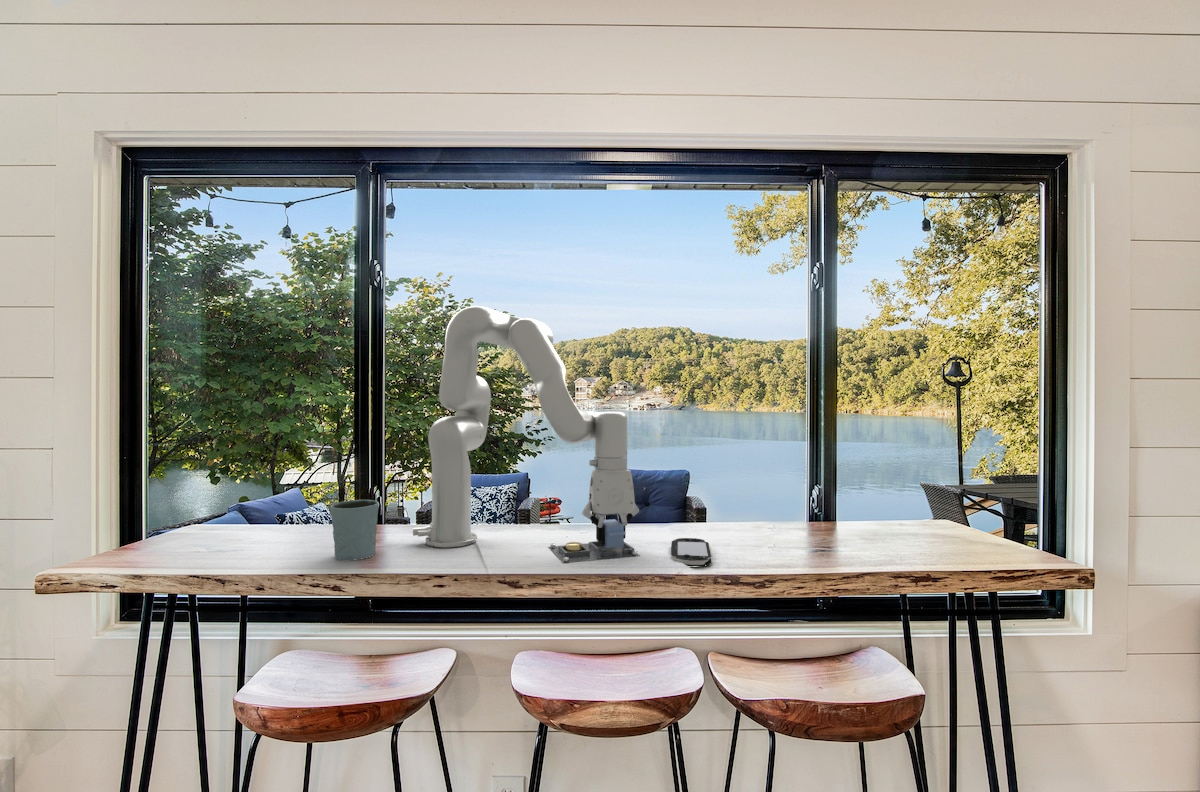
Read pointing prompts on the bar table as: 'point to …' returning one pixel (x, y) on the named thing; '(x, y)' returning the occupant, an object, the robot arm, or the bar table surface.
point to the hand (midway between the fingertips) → (610, 541)
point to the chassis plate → (592, 552)
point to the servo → (614, 533)
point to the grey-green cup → (354, 528)
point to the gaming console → (691, 551)
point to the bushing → (573, 546)
